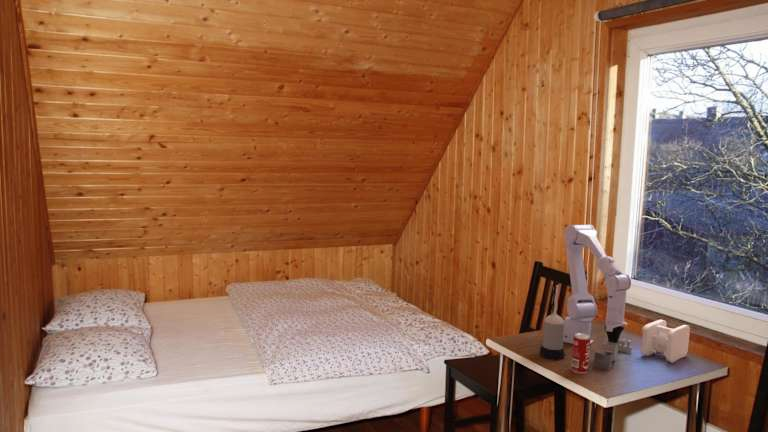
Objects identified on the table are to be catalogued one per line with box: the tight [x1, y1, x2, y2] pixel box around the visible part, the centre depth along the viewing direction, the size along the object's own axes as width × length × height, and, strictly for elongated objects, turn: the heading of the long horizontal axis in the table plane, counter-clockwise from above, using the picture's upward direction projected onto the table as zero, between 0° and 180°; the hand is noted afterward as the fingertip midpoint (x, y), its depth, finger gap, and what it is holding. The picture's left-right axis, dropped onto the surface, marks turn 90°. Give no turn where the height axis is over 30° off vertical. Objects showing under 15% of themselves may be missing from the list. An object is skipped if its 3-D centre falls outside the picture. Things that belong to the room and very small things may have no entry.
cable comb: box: [617, 338, 633, 354], centre depth 212 cm, size 2×8×4 cm, turn 55°
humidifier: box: [539, 284, 566, 361], centre depth 203 cm, size 8×8×25 cm
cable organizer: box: [640, 319, 691, 364], centre depth 207 cm, size 15×11×12 cm
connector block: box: [593, 349, 613, 371], centre depth 195 cm, size 3×5×5 cm, turn 54°
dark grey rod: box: [600, 340, 622, 353], centre depth 204 cm, size 21×4×4 cm, turn 144°
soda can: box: [570, 333, 591, 375], centre depth 190 cm, size 5×5×12 cm
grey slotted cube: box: [602, 340, 619, 362], centre depth 201 cm, size 4×4×5 cm
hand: (612, 346), depth 204 cm, fingers closed
